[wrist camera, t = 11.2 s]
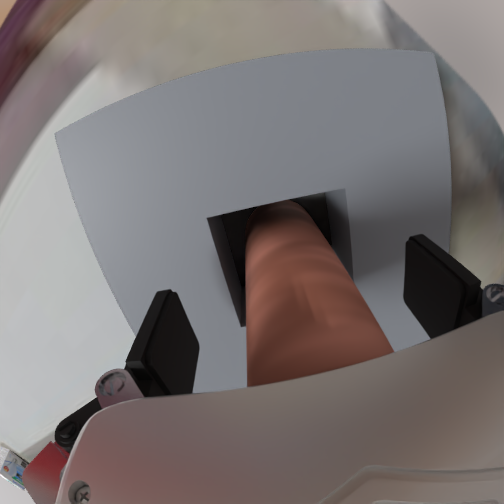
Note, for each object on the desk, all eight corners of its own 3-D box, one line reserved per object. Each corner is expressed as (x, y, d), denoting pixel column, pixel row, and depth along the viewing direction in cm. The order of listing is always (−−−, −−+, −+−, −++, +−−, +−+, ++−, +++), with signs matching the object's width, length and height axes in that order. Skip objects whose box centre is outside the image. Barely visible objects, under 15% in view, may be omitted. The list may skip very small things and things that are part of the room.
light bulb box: (33, 467, 47) (24, 491, 37) (24, 464, 48) (16, 486, 38) (8, 448, 42) (-2, 473, 33) (1, 445, 43) (-9, 469, 34)
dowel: (307, 192, 16) (423, 339, 5) (317, 255, 17) (397, 429, 6) (237, 207, 16) (226, 387, 5) (253, 269, 18) (265, 461, 7)
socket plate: (395, 63, 12) (433, 52, 9) (409, 314, 20) (432, 347, 16) (93, 128, 14) (54, 133, 10) (186, 363, 21) (178, 403, 17)
